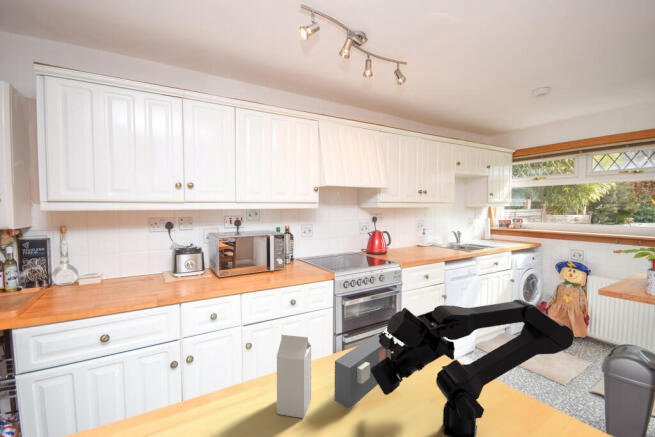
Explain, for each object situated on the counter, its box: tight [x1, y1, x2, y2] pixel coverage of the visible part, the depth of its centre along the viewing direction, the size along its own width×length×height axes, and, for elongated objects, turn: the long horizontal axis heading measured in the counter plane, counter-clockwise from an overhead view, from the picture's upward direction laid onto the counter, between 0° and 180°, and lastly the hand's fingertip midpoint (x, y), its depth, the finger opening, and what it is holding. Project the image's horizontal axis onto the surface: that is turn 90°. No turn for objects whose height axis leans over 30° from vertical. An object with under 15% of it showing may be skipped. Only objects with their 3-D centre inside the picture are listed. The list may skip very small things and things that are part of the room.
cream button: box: [357, 361, 370, 384], centre depth 78 cm, size 2×4×4 cm, turn 139°
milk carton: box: [276, 334, 312, 419], centre depth 75 cm, size 7×7×19 cm
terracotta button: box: [379, 348, 386, 362], centre depth 88 cm, size 2×4×4 cm, turn 139°
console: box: [334, 332, 393, 410], centre depth 85 cm, size 5×22×11 cm, turn 139°
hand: (379, 377), depth 76 cm, fingers closed
